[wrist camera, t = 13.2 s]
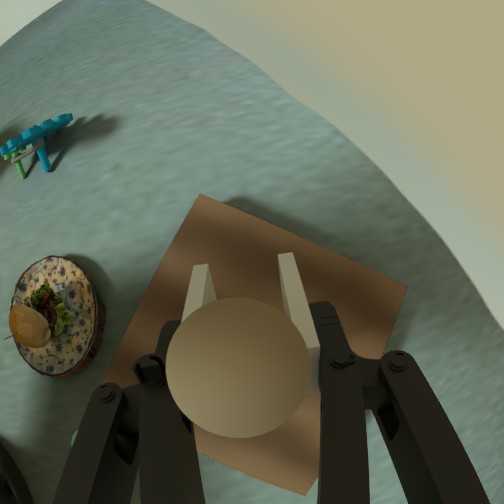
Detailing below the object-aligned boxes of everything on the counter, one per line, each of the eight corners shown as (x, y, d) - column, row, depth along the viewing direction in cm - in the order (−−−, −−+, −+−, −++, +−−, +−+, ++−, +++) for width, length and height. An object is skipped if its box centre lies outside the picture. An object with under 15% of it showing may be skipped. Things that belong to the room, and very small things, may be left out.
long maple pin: (272, 391, 18) (269, 459, 7) (219, 365, 19) (144, 394, 7) (298, 339, 19) (335, 334, 7) (245, 314, 20) (204, 274, 8)
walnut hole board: (302, 481, 21) (305, 495, 18) (115, 386, 24) (98, 390, 21) (394, 292, 25) (407, 286, 22) (206, 208, 28) (199, 193, 25)
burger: (126, 294, 27) (83, 277, 20) (78, 400, 24) (28, 410, 17) (47, 241, 29) (3, 215, 22) (7, 333, 26) (-41, 326, 19)
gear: (84, 104, 32) (35, 115, 23) (98, 146, 34) (53, 169, 26) (26, 137, 33) (-22, 156, 25) (39, 174, 36) (-6, 201, 27)
